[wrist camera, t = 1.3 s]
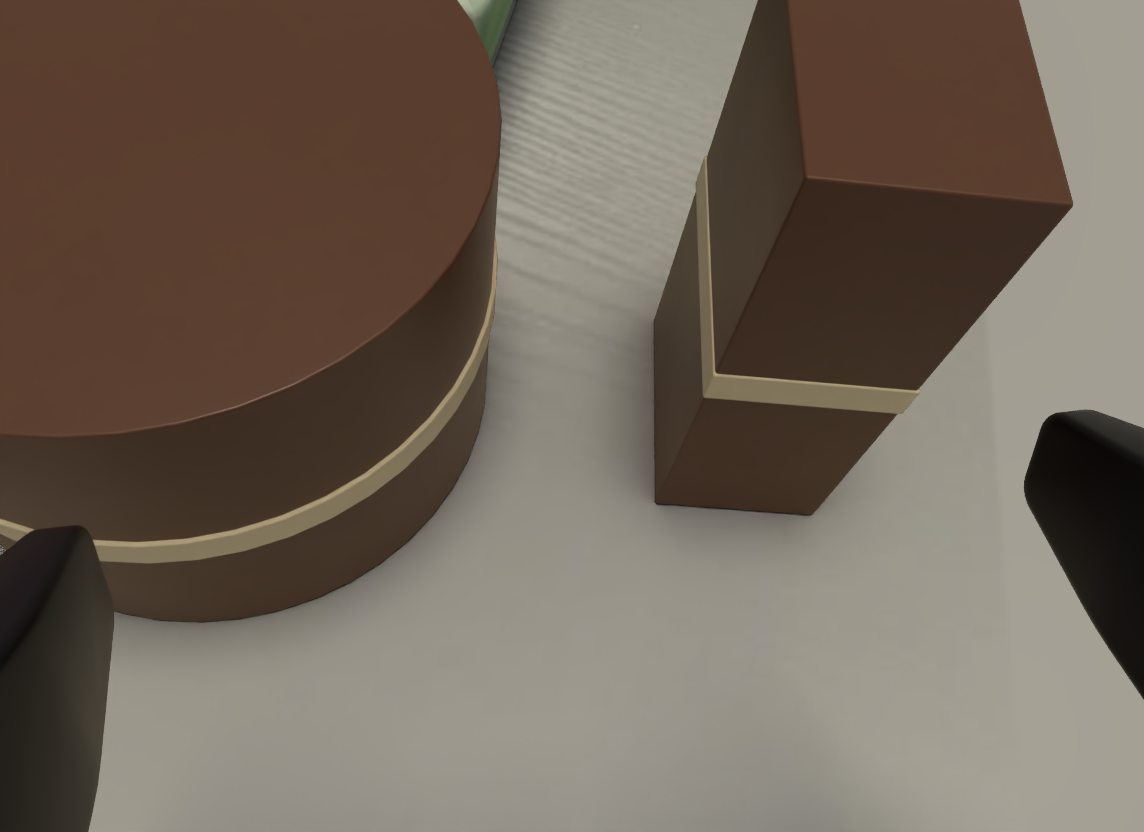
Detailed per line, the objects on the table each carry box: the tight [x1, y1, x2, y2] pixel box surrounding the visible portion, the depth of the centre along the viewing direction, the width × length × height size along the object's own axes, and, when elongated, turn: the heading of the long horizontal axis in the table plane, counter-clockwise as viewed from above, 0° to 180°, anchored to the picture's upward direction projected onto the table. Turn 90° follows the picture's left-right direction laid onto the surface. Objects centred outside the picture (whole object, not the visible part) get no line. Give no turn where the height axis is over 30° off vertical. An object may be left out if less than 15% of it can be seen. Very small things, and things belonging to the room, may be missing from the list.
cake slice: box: [654, 0, 1073, 515], centre depth 23 cm, size 6×4×13 cm
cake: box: [0, 0, 502, 622], centre depth 23 cm, size 14×14×10 cm
